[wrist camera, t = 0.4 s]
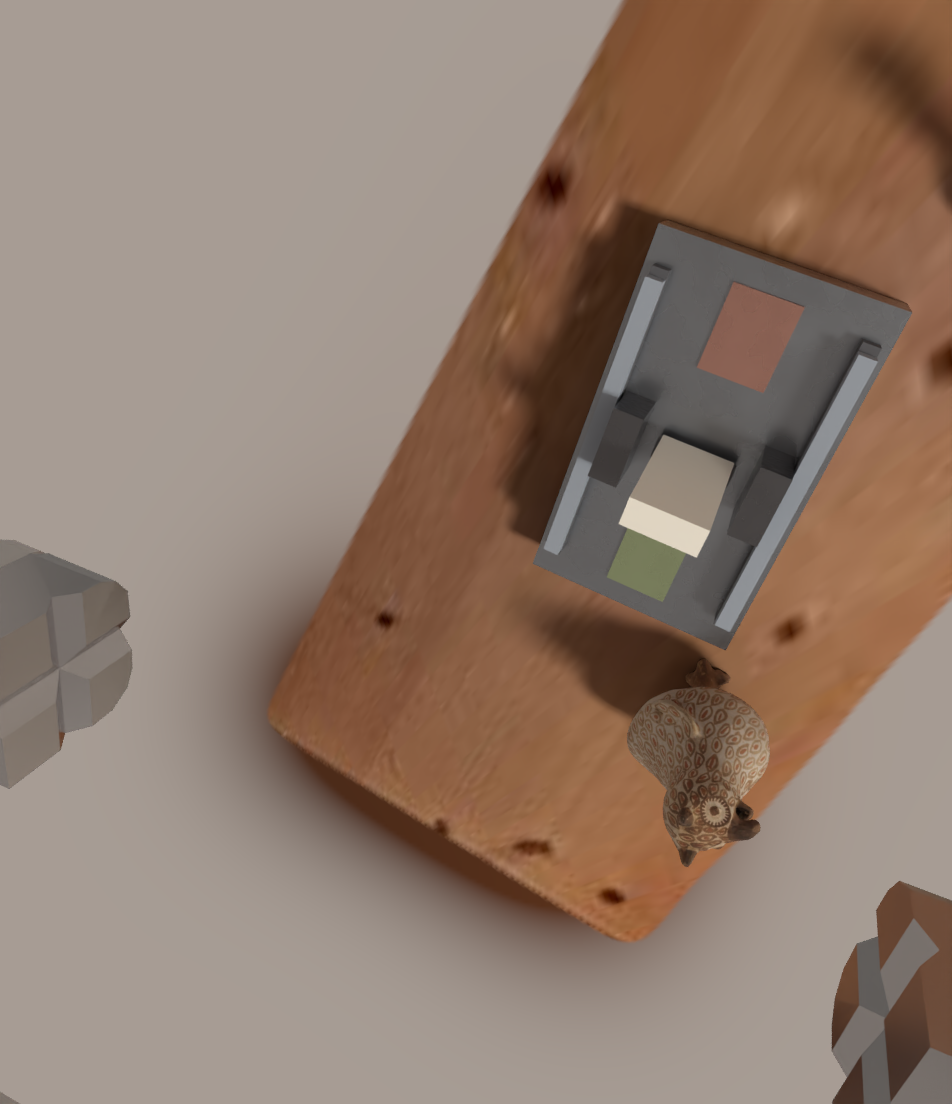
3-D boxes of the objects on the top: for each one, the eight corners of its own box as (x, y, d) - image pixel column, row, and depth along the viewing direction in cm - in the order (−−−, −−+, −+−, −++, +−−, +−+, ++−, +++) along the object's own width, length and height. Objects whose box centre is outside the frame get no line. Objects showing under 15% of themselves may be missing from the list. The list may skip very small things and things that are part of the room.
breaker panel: (667, 219, 48) (645, 228, 42) (907, 303, 45) (919, 325, 39) (545, 546, 59) (514, 589, 53) (730, 628, 57) (718, 682, 51)
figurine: (785, 754, 59) (773, 916, 46) (652, 755, 63) (609, 903, 51) (764, 644, 56) (746, 785, 44) (627, 652, 60) (574, 783, 48)
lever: (662, 428, 49) (626, 495, 43) (739, 459, 48) (713, 532, 42) (652, 453, 50) (615, 522, 44) (727, 484, 49) (700, 559, 43)
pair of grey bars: (655, 263, 46) (648, 267, 44) (880, 345, 44) (883, 352, 42) (549, 543, 56) (540, 555, 54) (729, 622, 53) (726, 638, 52)
